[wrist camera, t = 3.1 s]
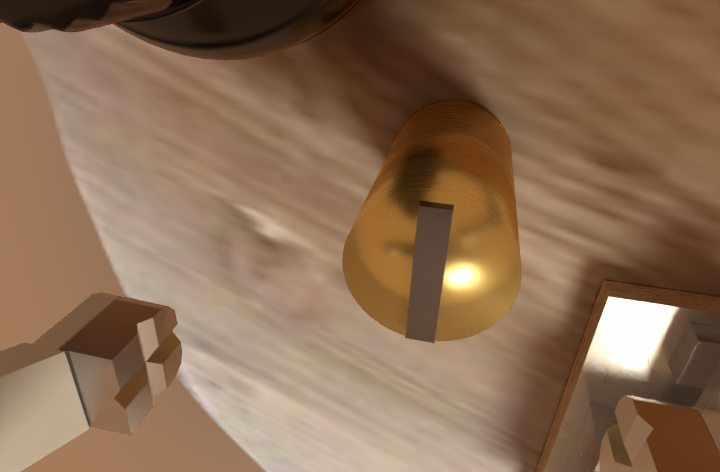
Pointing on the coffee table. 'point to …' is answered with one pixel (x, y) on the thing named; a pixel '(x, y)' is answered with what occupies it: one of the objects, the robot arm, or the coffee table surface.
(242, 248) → the coffee table surface
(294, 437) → the coffee table surface
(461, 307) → the cylinder
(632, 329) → the shaft rig
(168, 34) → the supplement bottle
